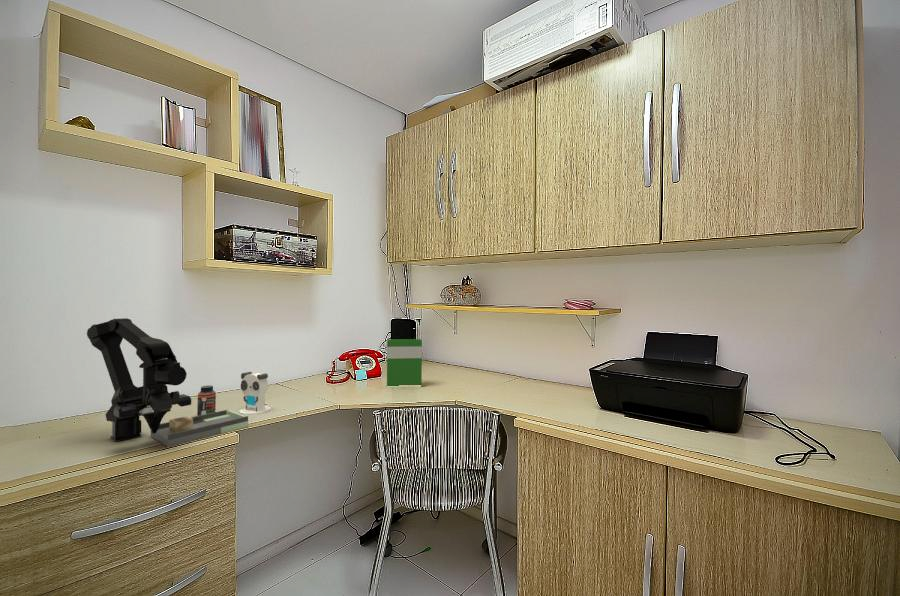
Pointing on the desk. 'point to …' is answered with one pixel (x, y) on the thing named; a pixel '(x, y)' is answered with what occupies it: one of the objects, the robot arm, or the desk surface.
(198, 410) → the supplement bottle
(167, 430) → the shallow grey tray
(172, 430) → the maple block
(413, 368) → the hardback book
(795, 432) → the desk surface
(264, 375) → the panda figurine
